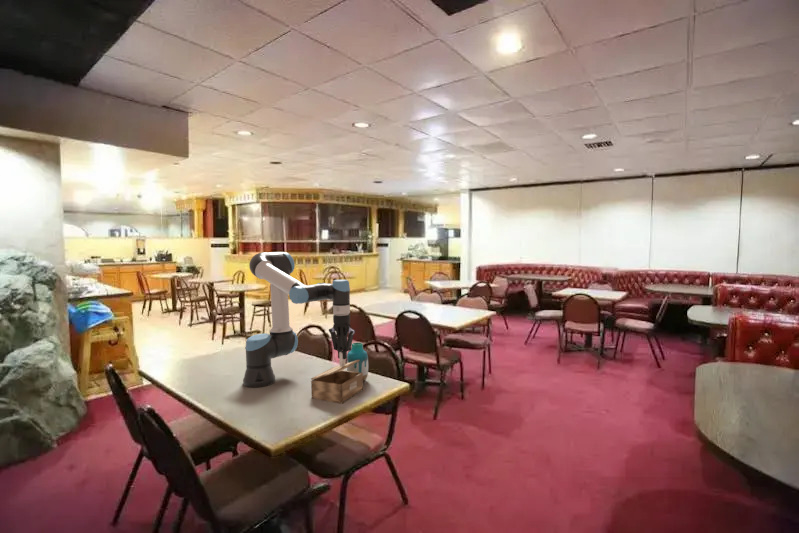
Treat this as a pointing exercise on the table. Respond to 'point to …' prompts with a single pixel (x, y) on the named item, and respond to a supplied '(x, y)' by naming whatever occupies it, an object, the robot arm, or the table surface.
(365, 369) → the vase
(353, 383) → the wooden box
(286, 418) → the table surface
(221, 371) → the table surface
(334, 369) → the flap
